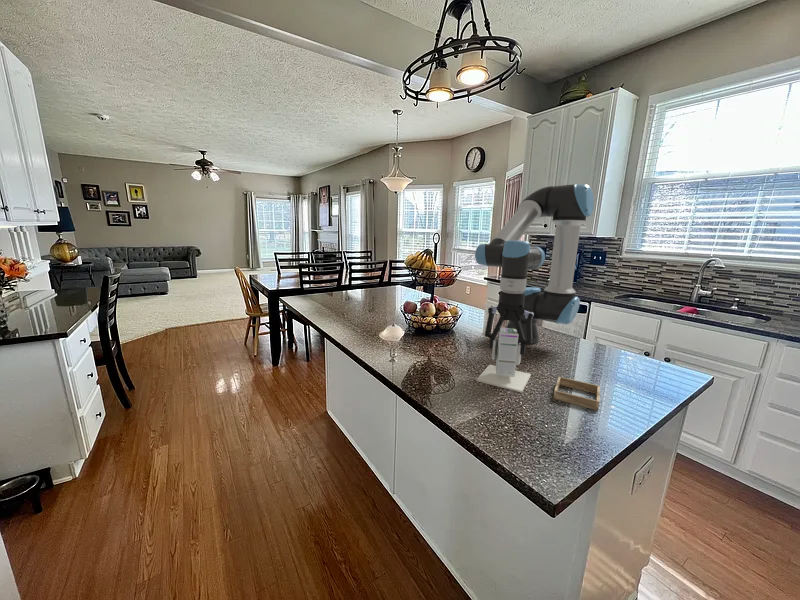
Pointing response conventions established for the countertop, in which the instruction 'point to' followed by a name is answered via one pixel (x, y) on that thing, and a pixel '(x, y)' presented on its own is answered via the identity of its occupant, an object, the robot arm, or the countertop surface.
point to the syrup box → (506, 352)
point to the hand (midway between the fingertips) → (505, 360)
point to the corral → (574, 398)
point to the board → (504, 379)
